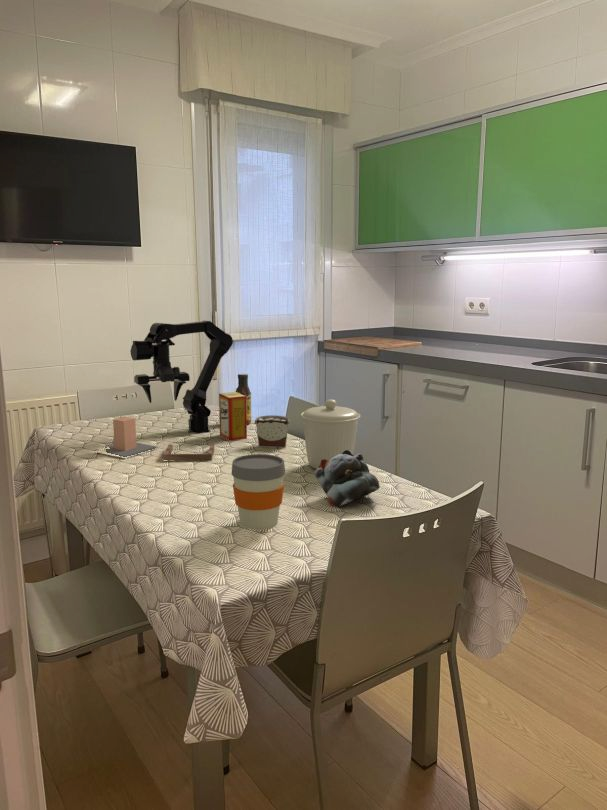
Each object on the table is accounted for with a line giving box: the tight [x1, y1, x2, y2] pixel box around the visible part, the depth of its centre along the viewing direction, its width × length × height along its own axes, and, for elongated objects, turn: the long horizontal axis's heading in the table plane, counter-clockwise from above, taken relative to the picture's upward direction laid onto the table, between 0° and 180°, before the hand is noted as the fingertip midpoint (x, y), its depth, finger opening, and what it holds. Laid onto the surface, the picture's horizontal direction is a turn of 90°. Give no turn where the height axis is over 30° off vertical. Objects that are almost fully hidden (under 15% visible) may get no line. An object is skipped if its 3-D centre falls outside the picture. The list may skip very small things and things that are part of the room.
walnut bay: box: [162, 443, 215, 462], centre depth 201 cm, size 13×15×2 cm
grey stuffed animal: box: [313, 450, 381, 508], centre depth 162 cm, size 15×12×14 cm
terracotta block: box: [112, 416, 137, 451], centre depth 205 cm, size 5×5×10 cm
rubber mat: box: [104, 442, 157, 457], centre depth 206 cm, size 14×14×1 cm
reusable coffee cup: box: [231, 453, 286, 530], centre depth 145 cm, size 12×13×15 cm
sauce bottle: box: [235, 373, 252, 425], centre depth 245 cm, size 7×6×20 cm
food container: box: [254, 414, 291, 449], centre depth 214 cm, size 12×6×10 cm, turn 84°
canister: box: [300, 399, 361, 470], centre depth 188 cm, size 18×18×21 cm
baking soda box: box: [218, 391, 248, 442], centre depth 224 cm, size 10×6×16 cm
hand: (163, 401), depth 223 cm, fingers open, 9 cm apart
